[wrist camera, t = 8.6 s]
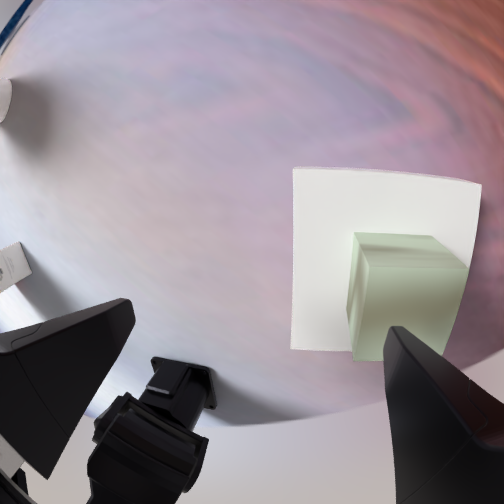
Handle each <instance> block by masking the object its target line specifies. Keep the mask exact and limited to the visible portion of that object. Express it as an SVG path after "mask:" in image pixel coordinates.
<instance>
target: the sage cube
mask: <svg viewBox="0 0 504 504" xmlns="http://www.w3.org/2000/svg"><path fill="white" fill-rule="evenodd" d="M468 273H469V268H468V267H467V266H466V265H465V264H464V263H463V262H461V261H460V260H459V259H458V258H457V257H456V256H455V255H454V254H452V253H451V252H450V251H449V250H448V249H447V248H446V247H444V246H443V245H442V244H441V243H440V242H438V241H437V240H436V239H435V238H434V237H432V236H429V235H410V234H389V233H365V232H354V234H353V248H352V260H351V271H350V280H349V289H348V298H347V306H346V311H347V318H348V325H349V332H350V339H351V347H352V355H353V361H384V360H383V347H384V343H385V340H386V337H387V333H388V330H389V328H390V327H391V326H403V327H404V328H406V329H407V330H408V331H409V332H411V333H412V334H413V335H415V336H416V337H417V338H419V339H420V340H421V341H423V342H424V343H425V344H427V345H428V346H429V347H430V348H432V349H433V350H434V351H436V352H437V353H438V354H439V355H441V356H442V354H443V352H444V349H445V347H446V344H447V342H448V339H449V336H450V334H451V331H452V328H453V325H454V322H455V319H456V316H457V313H458V310H459V306H460V303H461V300H462V296H463V293H464V289H465V285H466V281H467V277H468Z"/></svg>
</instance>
